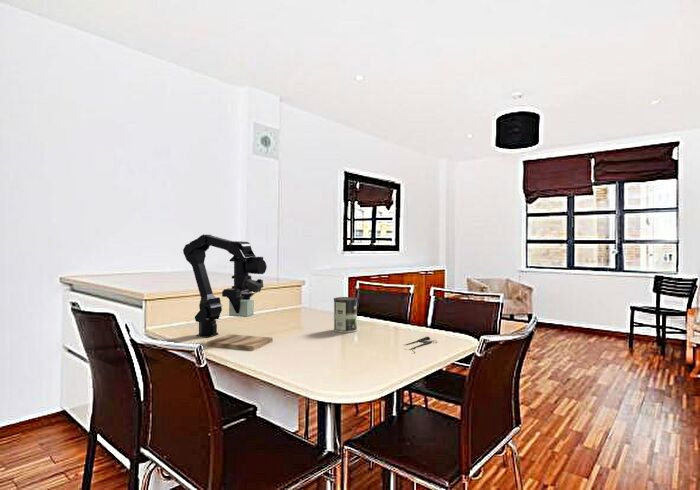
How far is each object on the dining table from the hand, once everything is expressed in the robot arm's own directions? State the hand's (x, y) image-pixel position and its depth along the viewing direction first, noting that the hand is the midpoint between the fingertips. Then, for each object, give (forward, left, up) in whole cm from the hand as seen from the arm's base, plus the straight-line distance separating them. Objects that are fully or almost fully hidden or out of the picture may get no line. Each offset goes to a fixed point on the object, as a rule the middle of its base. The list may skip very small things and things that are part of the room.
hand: (241, 312), depth 171 cm
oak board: (+3, -6, -11) cm, 13 cm away
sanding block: (0, 0, -1) cm, 1 cm away
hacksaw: (+69, +13, -12) cm, 71 cm away
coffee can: (+33, +30, -11) cm, 46 cm away
